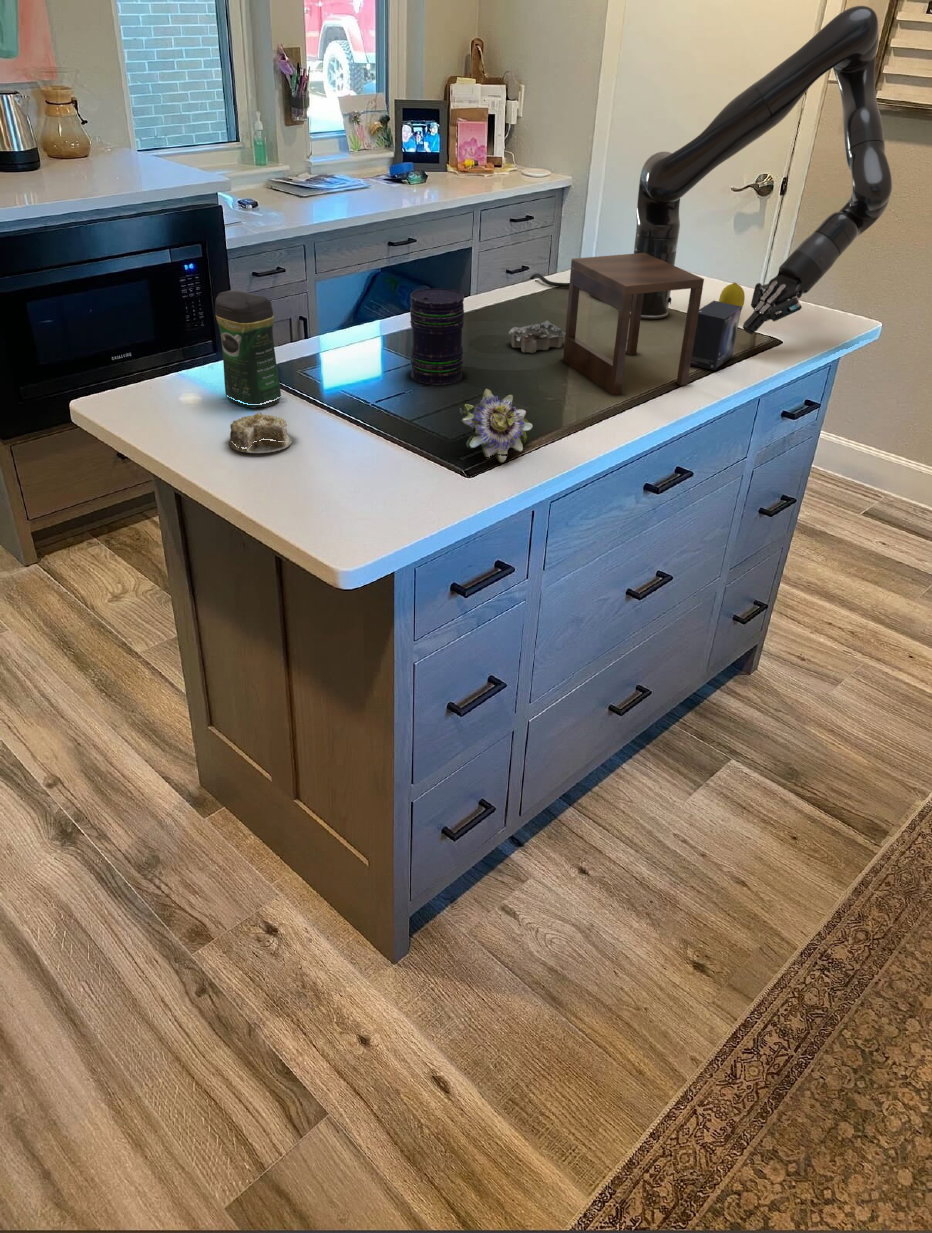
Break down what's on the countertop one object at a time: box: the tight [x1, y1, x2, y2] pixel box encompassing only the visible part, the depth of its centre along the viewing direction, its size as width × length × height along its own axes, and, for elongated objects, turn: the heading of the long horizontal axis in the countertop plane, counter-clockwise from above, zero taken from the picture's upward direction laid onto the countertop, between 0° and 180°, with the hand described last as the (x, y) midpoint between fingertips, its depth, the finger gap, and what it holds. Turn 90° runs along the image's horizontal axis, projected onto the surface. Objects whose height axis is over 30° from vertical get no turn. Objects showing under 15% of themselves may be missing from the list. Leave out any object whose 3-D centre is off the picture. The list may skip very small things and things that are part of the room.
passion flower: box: [458, 388, 534, 464], centre depth 149 cm, size 11×11×12 cm
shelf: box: [562, 253, 705, 396], centre depth 178 cm, size 20×16×20 cm
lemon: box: [718, 282, 746, 311], centre depth 212 cm, size 6×6×8 cm
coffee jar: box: [214, 288, 282, 409], centre depth 162 cm, size 10×8×19 cm
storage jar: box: [409, 287, 465, 386], centre depth 175 cm, size 10×10×15 cm
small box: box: [690, 300, 743, 371], centre depth 187 cm, size 11×6×10 cm, turn 148°
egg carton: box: [508, 320, 566, 354], centre depth 194 cm, size 11×8×4 cm
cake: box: [228, 412, 293, 454], centre depth 150 cm, size 10×10×5 cm
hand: (746, 330), depth 189 cm, fingers closed
